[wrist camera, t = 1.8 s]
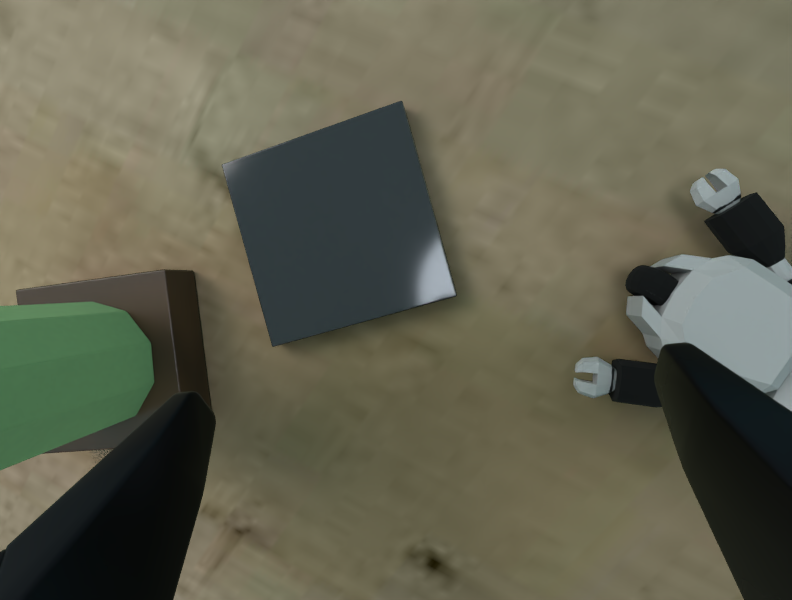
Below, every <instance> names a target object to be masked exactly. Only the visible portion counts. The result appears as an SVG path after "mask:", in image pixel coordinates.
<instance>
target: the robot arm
mask: <svg viewBox="0 0 792 600" xmlns="http://www.w3.org/2000/svg"><path fill="white" fill-rule="evenodd" d="M654 381H655V386H656V390H657V393H658V396H659V399H660V402H661V405H662V408H663V411H664V414H665V417H666V420H667V423H668V426H669V429H670V432H671V435H672V438H673V441H674V444H675V447H676V450H677V453H678V456H679V459H680V461H681V464H682V467H683V469H684V471H685V474H686V476H687V478H688V481H689V483H690V485H691V487H692V489H693V491H694V494H695V496H696V498H697V500H698V502H699V504H700V506H701V509H702V511H703V513H704V515H705V517H706V519H707V521H708V524H709V526H710V528H711V530H712V532H713V534H714V536H715V538H716V541H717V543H718V545H719V547H720V549H721V551H722V553H723V556H724V558H725V560H726V562H727V564H728V566H729V568H730V571H731V573H732V575H733V577H734V579H735V581H736V583H737V586H738V588H739V590H740V592H741V594H742V596H743V598H744V600H792V411H790V410H789V409H788V408H786V407H785V406H783V405H782V404H780V403H779V402H777V401H776V400H774V399H773V398H771V397H770V396H768V395H767V394H765V393H764V392H762V391H761V390H760V389H758V388H757V387H755V386H754V385H752V384H751V383H749V382H748V381H746V380H745V379H743V378H742V377H740V376H739V375H737V374H736V373H734V372H733V371H732V370H730V369H729V368H727V367H726V366H724V365H723V364H721V363H720V362H718V361H717V360H715V359H714V358H712V357H711V356H709V355H708V354H706V353H705V352H704V351H702V350H701V349H699V348H698V347H696V346H695V345H693V344H691V343H687V342H682V343H672V344H665V345H664V346H663V347H662V348H661V350H660V354H659V358H658V362H657V366H656V370H655V375H654ZM215 425H216V420H215V415H214V413H213V411H212V410H211V409H210V407H209V406H208V405H207V404H206V402H205V401H204V400H203V398H202V397H201V396H200V394H199V393H197V392H195V391H187V392H179V393H176V394H174V395H173V396H171V397H170V398H169V399H168V400H167V401H166V402H165V403H164V404H163V405H162V406H160V407H159V408H158V409H157V410H156V411H155V412H154V413H153V414H152V415H151V416H149V417H148V418H147V419H146V420H145V421H144V422H143V423H142V424H141V425H140V426H138V427H137V428H136V429H135V430H134V431H133V432H132V433H131V434H130V435H129V436H128V437H126V438H125V439H124V440H123V441H122V442H121V443H120V444H119V445H118V446H117V447H115V448H114V449H113V450H112V451H111V452H110V453H109V454H108V455H107V456H106V457H104V458H103V459H102V460H101V461H100V462H99V463H98V464H97V465H96V466H95V467H93V468H92V469H91V470H90V471H89V472H88V473H87V474H86V475H85V476H84V477H82V478H81V479H80V480H79V481H78V482H77V483H76V484H75V485H74V486H73V487H71V488H70V489H69V490H68V491H67V492H66V493H65V494H64V495H63V496H62V497H60V498H59V499H58V500H57V501H56V502H55V503H54V504H53V505H52V506H51V507H49V508H48V509H47V510H46V511H45V512H44V513H43V514H42V515H41V516H40V517H38V518H37V519H36V520H35V521H34V522H33V523H32V524H31V525H30V526H29V527H27V528H26V529H25V530H24V531H23V532H22V533H21V534H20V535H19V536H18V537H16V538H15V539H14V540H13V541H12V542H11V543H10V544H9V545H8V546H7V548H6V550H2V551H1V552H0V600H173V599H174V595H175V592H176V588H177V585H178V581H179V578H180V574H181V571H182V567H183V563H184V560H185V556H186V553H187V549H188V546H189V542H190V539H191V535H192V532H193V528H194V525H195V521H196V518H197V514H198V511H199V507H200V504H201V500H202V496H203V491H204V487H205V482H206V476H207V470H208V465H209V459H210V454H211V448H212V442H213V437H214V431H215Z"/></svg>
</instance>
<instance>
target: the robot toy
mask: <svg viewBox="0 0 792 600" xmlns="http://www.w3.org/2000/svg"><path fill="white" fill-rule="evenodd" d="M705 176H706V177H707V178H708V179H709V181H710V182H711V183H712V185H713V186H714V188H715V189H716V190H717V192H715V191H714V190H713V189H712V188H711V187H710V185H709V184H708V183H707V182H706V181H705V179H704V177H702V178H701V179H699V180H697V181H696V182H694V183H693V185H692V187H691V190H690V193H691V195H692V197H693V200H694V202H695V204H696V206H698V207H700V208H703V209H705V210H707V211H709V212H711V213H714V215H713V216H711V217H710V218H708V219H707V220H705V221H704V222H705V223H706V225H707V226H708V227H709V229H710V230H711V231H712V232H713V234H714V235H715V236H716V237H717V239H718V240H719V241H720V243H721V244H722V245H723V246H724V248H725V249H726V250H727V252H728V253H730V254H732V255H735V256H731V255H728V256H723V257H717V258H705V257H698V256H691V255H685V254H681V255H677V256H673V257H669V258H665V259H662V260H660V261H659V262H657V263H655V264H653V265H652V266H646V265H641V266H638V267H636V268H635V269H633V270H632V272H631V273H630V274H629V275H628V278H627V280H626V285H625V286H626V289H627V290H628V291H629V292H630V293H631V294H632V295H634V296H628V297H627V311H626V315H627V316H628V317H629V318H630V320H631V321H632V322H633V323H634V324H635V325H636V326H637V328H638V329H639V330H640V331H641V332H642V333H643V336H644V339H645V343H646V346H647V347H648V348H649V349H650V350H651V351H652V352H653V353H654V354H655V356H656V357H657V358H659V354H660V350H661V348H662V347H663V346H664V345H665V344H672V343H682V342H687V343H691V344H693V345H695V346H696V347H698V348H699V349H701V350H702V351H704V352H705V353H706V354H708V355H709V356H711V357H712V358H714V359H715V360H717V361H718V362H720V363H721V364H723V365H724V366H726V367H727V368H729V369H730V370H732V371H733V372H734V373H736V374H737V375H739V376H740V377H742V378H743V379H745V380H746V381H748V382H749V383H751V384H752V385H754V386H755V387H757V388H758V389H760V390H761V391H762V392H764V393H765V394H767V395H768V396H770V397H771V398H773V399H774V400H776V401H777V402H779V403H780V404H782V405H783V406H785V407H786V408H788V409H789V410H790V411H792V267H791V265H790V264H789V263H788V262H787V260H786V259H785V234H784V226H783V224H782V223H781V222H780V221H779V219H778V218H777V217H776V216H775V214H774V213H773V212H772V211H771V210H770V208H769V207H768V206H767V205H766V203H765V202H764V201H763V200H762V198H761V197H760V196H759V195H758V194H757V192H756V193H752V194H749V195H747V196H745V197H743V198H741V193H740V186H739V180H738V178H736V177H735V176H734V175H733V174H731V173H730V172H729V171H727V170H726V169H714V170H713V171H711V172H710V173H708V174H707V175H705ZM668 273H671V275H669V274H668ZM656 366H657V364H655V363H647V362H639V361H631V360H622V359H615V360H613V361H612V365H610V364H609V363H607V362H605V361H604V360H602V359H600V358H599V357H588V358H582V359H581V360H580V361H578V362H577V363H576V365H575V371H576V373H577V372H587V373H593V381H588V380H581V379H577V378H575V377H574V381H573V384H574V387H575V389H576V390H577V392H578V393H580V394H582V395H585V396H588V397H591V398H596V397H599V396H602V395H606V394H609V395H610V397H611V399H612V401H614V402H621V403H629V404H636V405H643V406H650V407H662V405H661V402H660V399H659V396H658V393H657V390H656V386H655V381H654V375H655V370H656Z"/></svg>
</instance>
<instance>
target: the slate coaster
mask: <svg viewBox="0 0 792 600" xmlns="http://www.w3.org/2000/svg"><path fill="white" fill-rule="evenodd" d="M222 167H223V171H224V174H225V178H226V181H227V185H228V189H229V192H230V196H231V199H232V203H233V207H234V210H235V214H236V217H237V221H238V225H239V228H240V232H241V235H242V239H243V243H244V246H245V250H246V253H247V257H248V261H249V264H250V268H251V271H252V275H253V279H254V282H255V286H256V289H257V293H258V296H259V300H260V304H261V307H262V311H263V314H264V318H265V322H266V325H267V329H268V332H269V336H270V340H271V343H272V346H273V347H274V346H278V345H281V344H285V343H289V342H292V341H296V340H300V339H303V338H307V337H310V336H314V335H318V334H321V333H325V332H329V331H332V330H336V329H339V328H343V327H347V326H350V325H354V324H358V323H361V322H365V321H368V320H372V319H376V318H379V317H383V316H386V315H390V314H394V313H397V312H401V311H405V310H408V309H412V308H415V307H419V306H423V305H426V304H430V303H434V302H437V301H441V300H444V299H448V298H452V297H455V296H457V292H456V289H455V285H454V282H453V278H452V275H451V271H450V267H449V264H448V260H447V257H446V253H445V250H444V246H443V243H442V239H441V235H440V232H439V228H438V225H437V221H436V218H435V214H434V211H433V207H432V203H431V200H430V196H429V193H428V189H427V186H426V182H425V178H424V175H423V171H422V168H421V164H420V161H419V157H418V154H417V150H416V146H415V143H414V139H413V136H412V132H411V129H410V125H409V122H408V118H407V114H406V111H405V108H404V105H403V102H402V101H399V102H396V103H393V104H391V105H388V106H385V107H382V108H379V109H377V110H374V111H371V112H368V113H365V114H363V115H360V116H357V117H354V118H351V119H349V120H346V121H343V122H340V123H337V124H335V125H332V126H329V127H326V128H323V129H320V130H318V131H315V132H312V133H309V134H306V135H304V136H301V137H298V138H295V139H292V140H290V141H287V142H284V143H281V144H278V145H276V146H273V147H270V148H267V149H264V150H262V151H259V152H256V153H253V154H250V155H248V156H245V157H242V158H239V159H236V160H233V161H231V162H228V163H225V164H222Z"/></svg>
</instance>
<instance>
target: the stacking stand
mask: <svg viewBox="0 0 792 600" xmlns="http://www.w3.org/2000/svg"><path fill="white" fill-rule="evenodd" d="M16 295H17V303H18V305H34V304H54V303H74V302H96V303H99V304H103V305H107V306H110V307H114V308H117V309H121V310H124V311H126V312H128V314H129V315H130V316H131V318H132V319H133V320H134V321H135V323H136V324H137V325H138V327H139V328H140V329H141V330H142V332H143V333H144V334H145V336H146V337H147V338H148V339H149V341H150V342H151V349H152V360H153V371H154V384H153V386H152V388H151V389H150V391H149V393H148V395H147V397H146V398H145V400H144V402H143V404H142V406H141V408H140V409H139V411H138V413H137V415H136V416H134V417H131V418H129V419H127V420H124V421H122V422H119V423H117V424H114V425H112V426H109V427H107V428H104V429H102V430H99V431H97V432H94V433H92V434H89V435H87V436H84V437H82V438H79V439H77V440H74V441H72V442H69V443H67V444H64V445H62V446H59V447H57V448H54V449H52V450H49V451H47V452H44V453H59V452H73V451H88V450H103V449H114V448H115V447H117V446H118V445H119V444H120V443H121V442H122V441H123V440H124V439H125V438H126V437H128V436H129V435H130V434H131V433H132V432H133V431H134V430H135V429H136V428H137V427H138V426H140V425H141V424H142V423H143V422H144V421H145V420H146V419H147V418H148V417H149V416H151V415H152V414H153V413H154V412H155V411H156V410H157V409H158V408H159V407H160V406H162V405H163V404H164V403H165V402H166V401H167V400H168V399H169V398H170V397H171V396H173V395H174V394H176V393H179V392H187V391H195V392H197V393H199V394H200V396H201V397H202V398H203V400H204V401H205V402H206V404H207V405H208V406H209V407H210V409H211V404H210V396H209V388H208V380H207V373H206V365H205V357H204V349H203V341H202V333H201V325H200V318H199V310H198V302H197V294H196V286H195V278H194V272H193V271H187V270H157V271H150V272H142V273H135V274H128V275H121V276H113V277H106V278H99V279H92V280H85V281H77V282H70V283H63V284H56V285H48V286H41V287H34V288H27V289H19V290H16ZM44 453H42V454H44Z"/></svg>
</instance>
